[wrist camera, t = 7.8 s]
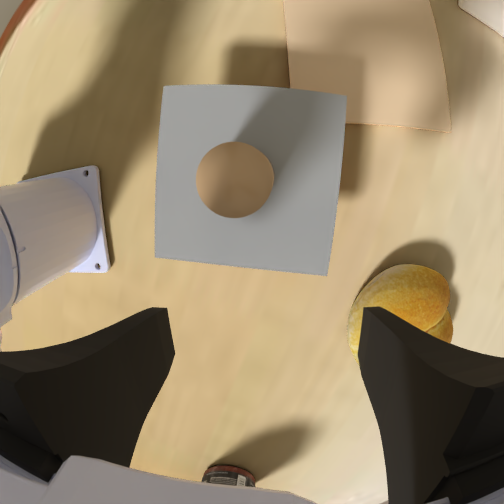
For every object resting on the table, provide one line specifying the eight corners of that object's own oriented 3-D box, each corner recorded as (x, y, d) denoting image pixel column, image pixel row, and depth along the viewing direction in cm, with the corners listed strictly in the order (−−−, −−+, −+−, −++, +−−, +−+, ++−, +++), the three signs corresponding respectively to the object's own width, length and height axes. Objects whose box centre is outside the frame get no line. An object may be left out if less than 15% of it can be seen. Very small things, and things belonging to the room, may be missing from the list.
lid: (160, 253, 17) (124, 281, 12) (169, 89, 14) (132, 67, 10) (324, 270, 16) (338, 307, 12) (343, 99, 14) (366, 76, 9)
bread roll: (435, 245, 19) (462, 261, 15) (445, 343, 21) (465, 369, 17) (330, 283, 21) (340, 308, 17) (356, 377, 23) (366, 410, 19)
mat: (292, 122, 18) (292, 121, 17) (280, -17, 15) (280, -21, 14) (448, 132, 17) (451, 132, 16) (425, 0, 14) (428, -3, 13)
